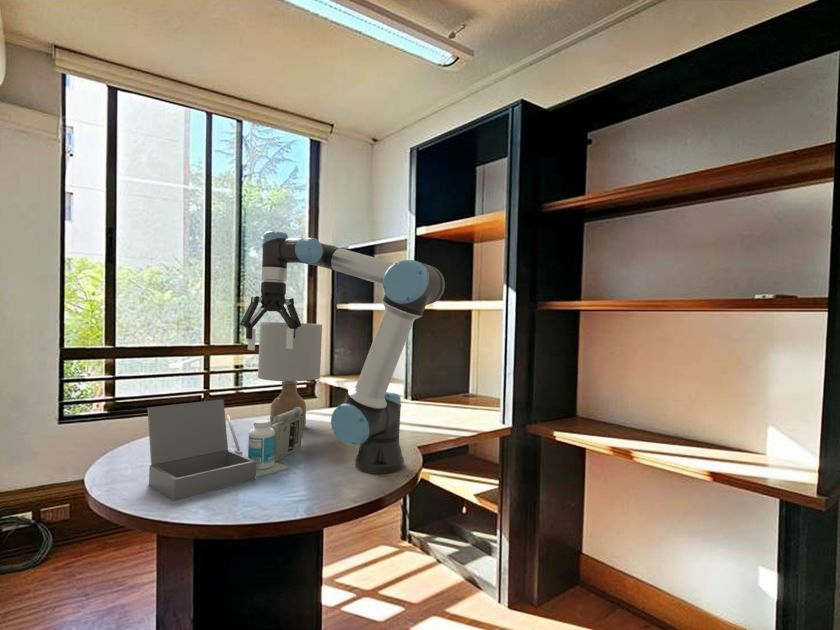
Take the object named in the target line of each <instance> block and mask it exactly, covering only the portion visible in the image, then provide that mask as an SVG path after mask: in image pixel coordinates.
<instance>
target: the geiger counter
mask: <svg viewBox="0 0 840 630" xmlns="http://www.w3.org/2000/svg"><path fill="white" fill-rule="evenodd" d="M302 413H303V410H302V408H301V407H296V408H294V409H292V410H291V411H288V412H286V413H283V414H280V415H278V416H275V417H274V419H273V422H271V424H272V423H275V424H272V425H270V426H269V427H271V428H273V429H274V431H275V449H274V462H278V461H279V460H281V459H283V458H285V457H286V456H288V455H289V454H292V453H294V452H295V451H297V450H299V449H300V448H302V447H301V446H302V439H303V437H304V435H303V434H304V433H303V431H304V429H303V430H302V425H303V416H300V415H301V414H302Z"/></svg>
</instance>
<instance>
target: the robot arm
mask: <svg viewBox="0 0 840 630" xmlns="http://www.w3.org/2000/svg"><path fill="white" fill-rule="evenodd" d="M262 238H263V239H262V245H261V247H262V256H261V257H262V259H261V261H262V263H261V280H262V282H261V283H260V293H261V295H260V296H259V295H252V296H251V297H250V303H249V305H248V307H247V309H246V311H245V313H244V314H243V316H242V319H241V320H240V323H239V325H240V327H244V328H245V338H246V340H247V350H249V351H255V350H256V328H254V327H255V326H256V325H257V324H258V322H259V321H260V320H261V319H262V317H263V316H264V315H265V314H266V313H268V312H278V314H279V315H280V316H281V318H282V319H283V320H284V321H283V322H284V323H287V325H288V326H289V328H290V329H287V337H286V349H293V339H295V330H296V329H297V328H298V327H300V326H301V323H302V322H301V321H300V318H299V315H298V312H297V309H296V307H295V299H294V298H293V297H291V298H290V297H287V298H286V294H287V284H286V282H287V278H288V277H287V276H288V274H287V273H288V270H287V267H288V264H294V263H295V264H297V263H298V264H306V265H308V266H309V265H311V266H315V267H316V266H317V267H321V268H325V269H328V270H331V271H335V272H339V273H341V274H342V273H343V274H345V275H349V276H352V277H356V278H359V279H362V280H364V281H368V282H371V283H375V284H378V285H381V286H382V287H383V290H384V296H383V298H382V304H383V306H384V312H383V314H382V317H381V319H380V322H379V324H378V327H377V330H376V332H375V335H374V338H373V341H372V343H371V346H370V348H369V351H368V354H367V355H366V359H365V361H364V363H363V366H362V369H361V371H360V374H359V377H358V379H357V382H356V385H355V386H354V387H350V388H349V389H348V391H347V393H346V395H345V398H344V401H343V403H342V404H339V405H338V406H336V408H335V409H334V410H333V412H332V414H331V417H330V424H331V429H332V430H333V433H334V435H335V437H336V438H337V439H338V441H340V442H341V443H343V444H345V445H349V446H356V445H359V447H358V450H357V454H356V455H355V459H354V460H355V461H354V467H355V469H357V470H359V471H361V472H365V473H370V474H391V473H395V472H398V471H401V470H402V469H404V466H405V464H404V463H405V459H404V456H403V454H402V453H403V452H402V447H401V444H400V432H401V430H400V429H401V428H400V427H401V411H402V410H401V408H402V401H401V395H400V394H398V393H395V392H387V391H388V388H389V386H390V383H391V381H392V378H393V375H394V373H395V370H396V368H397V365H398V363H399V360H400V357H401V355H402V352H403V350H404V348H405V345H406V343H407V339H408V337H409V334H410V332H411V330H412V327H413V325H414V323H415V320H417V319H419V318H422V317H423V314H424V311H425V308H426V306H428V305H432V304H435V303H436V302H437V301H438V300H440V298H441V297H442V296H443V294H444V292H445V288H446V286H445V284H446V283H445V278H444V276H443V273H441V271H440V270H439V269H437V267H435V266H432V265H430V264H427V263H422V262H420V261H417V260H414V259H411V260H410V259H402V260H398V261H396V262H392V261H388V260H385V259H383V258H378V257H374V256H370V255H367V254H362V253H359V252H356V251H352V250H348V249H344V248H340V247H338V246H334V245H331V244H326V243H322V242H320V241H319V239H317V238H314V237H307V236H305V237H295V238H289V235H288V234H287V233H286V232H282V231H266V232H264V234H263V237H262ZM260 303H261V305H260V306H259V307H258V305H259V304H260ZM285 305H286V307H285ZM257 308H258V309H257ZM256 309H257V310H256ZM287 310H288V311H287Z"/></svg>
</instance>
